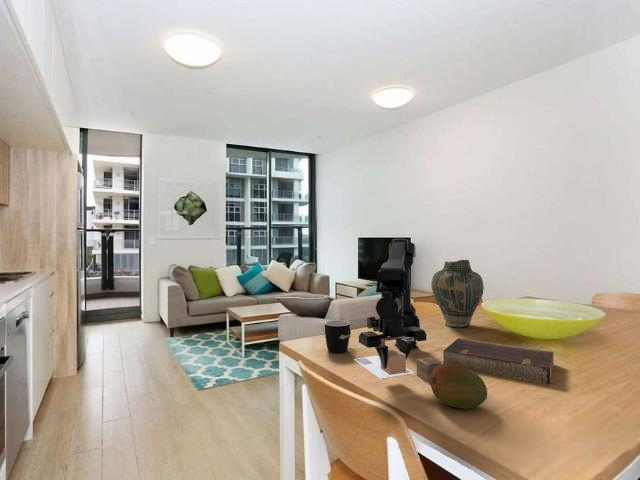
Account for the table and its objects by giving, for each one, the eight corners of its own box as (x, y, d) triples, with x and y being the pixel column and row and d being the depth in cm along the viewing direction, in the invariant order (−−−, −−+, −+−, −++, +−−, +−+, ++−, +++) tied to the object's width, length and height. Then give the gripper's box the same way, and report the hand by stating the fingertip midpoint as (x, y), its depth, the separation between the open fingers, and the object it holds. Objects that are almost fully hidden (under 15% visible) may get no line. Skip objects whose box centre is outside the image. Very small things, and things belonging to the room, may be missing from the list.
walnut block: (430, 373, 111) (430, 357, 111) (441, 379, 106) (441, 362, 106) (416, 376, 109) (416, 359, 109) (427, 382, 105) (427, 364, 105)
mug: (339, 356, 127) (339, 327, 127) (319, 351, 133) (319, 323, 132) (359, 348, 136) (359, 320, 136) (340, 343, 142) (340, 317, 141)
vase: (492, 331, 157) (492, 260, 156) (439, 332, 157) (439, 261, 156) (471, 319, 179) (471, 257, 178) (425, 319, 179) (425, 257, 179)
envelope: (384, 355, 128) (384, 354, 128) (415, 373, 111) (415, 372, 111) (353, 359, 124) (353, 358, 124) (379, 379, 107) (379, 378, 107)
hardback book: (553, 366, 118) (553, 350, 118) (549, 386, 102) (549, 368, 102) (458, 350, 134) (458, 336, 134) (443, 365, 119) (443, 350, 119)
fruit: (424, 395, 96) (424, 357, 96) (471, 393, 97) (471, 355, 97) (443, 418, 84) (443, 374, 84) (496, 415, 85) (496, 372, 85)
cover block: (396, 366, 107) (395, 349, 107) (405, 372, 102) (405, 354, 102) (380, 368, 105) (380, 351, 105) (389, 374, 101) (389, 356, 101)
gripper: (405, 303, 114) (405, 354, 115) (350, 308, 108) (350, 362, 108) (427, 310, 104) (427, 366, 104) (367, 316, 97) (368, 375, 98)
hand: (393, 367), depth 104 cm, fingers closed on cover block, 5 cm apart
